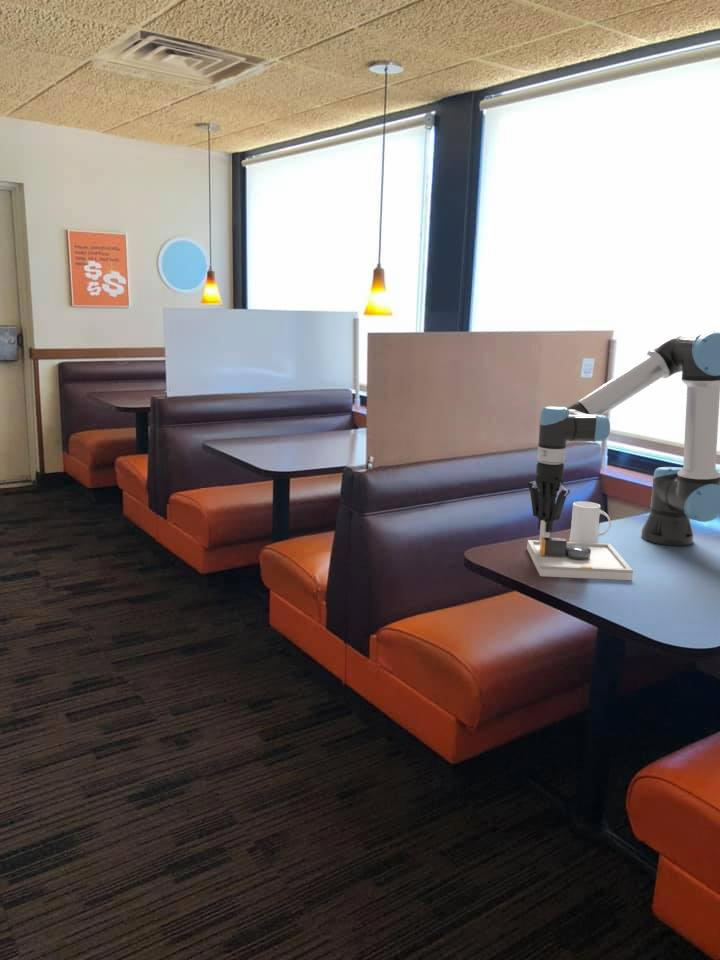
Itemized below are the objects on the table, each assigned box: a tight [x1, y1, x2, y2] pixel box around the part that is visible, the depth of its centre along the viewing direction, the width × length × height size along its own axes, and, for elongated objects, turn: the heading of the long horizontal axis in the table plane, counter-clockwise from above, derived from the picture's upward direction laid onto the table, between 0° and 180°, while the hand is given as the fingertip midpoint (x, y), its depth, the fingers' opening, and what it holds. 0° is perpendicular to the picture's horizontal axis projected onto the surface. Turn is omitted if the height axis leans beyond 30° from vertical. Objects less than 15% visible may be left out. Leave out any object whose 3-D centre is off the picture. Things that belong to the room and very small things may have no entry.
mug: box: [568, 500, 612, 543], centre depth 233 cm, size 12×8×12 cm
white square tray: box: [526, 539, 634, 581], centre depth 214 cm, size 24×24×3 cm
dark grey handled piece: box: [540, 537, 591, 559], centre depth 213 cm, size 14×7×4 cm, turn 86°
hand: (544, 541), depth 220 cm, fingers closed
